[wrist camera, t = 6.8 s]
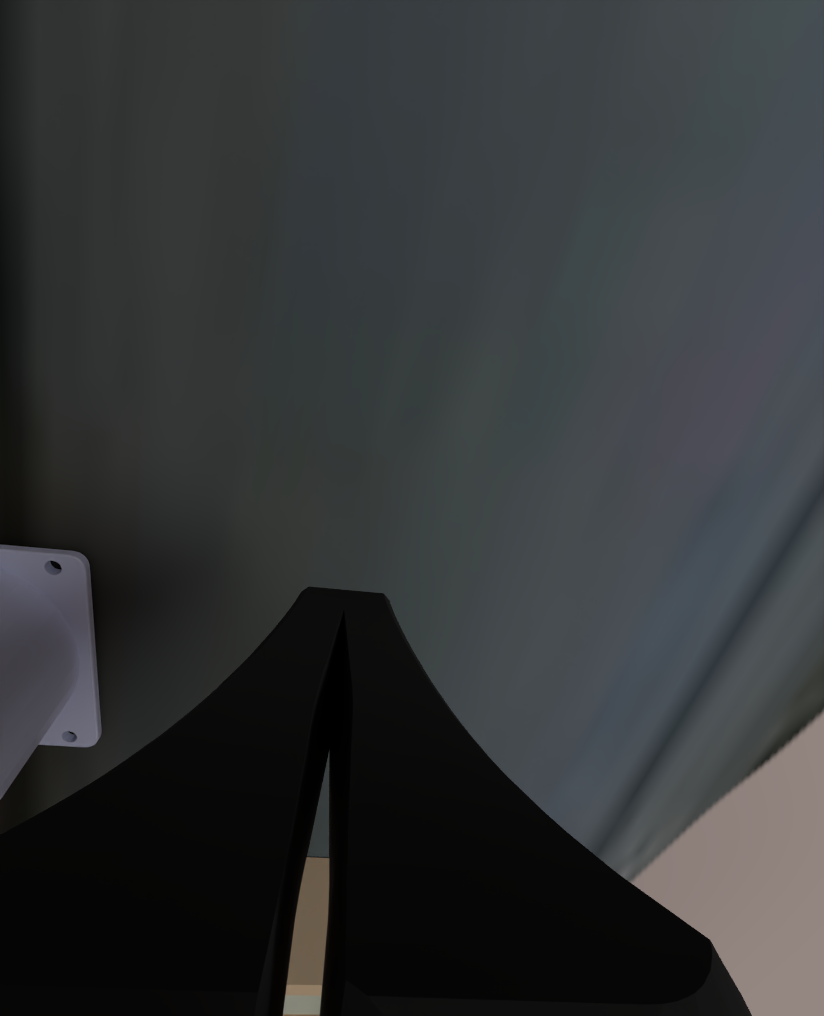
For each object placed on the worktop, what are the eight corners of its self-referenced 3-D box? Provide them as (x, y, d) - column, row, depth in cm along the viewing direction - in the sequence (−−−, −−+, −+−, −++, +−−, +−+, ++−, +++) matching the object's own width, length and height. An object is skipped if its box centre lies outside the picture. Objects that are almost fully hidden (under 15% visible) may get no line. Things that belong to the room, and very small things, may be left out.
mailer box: (123, 1000, 29) (76, 1139, 25) (112, 850, 25) (55, 980, 21) (374, 1002, 30) (374, 1136, 26) (398, 860, 27) (404, 986, 22)
